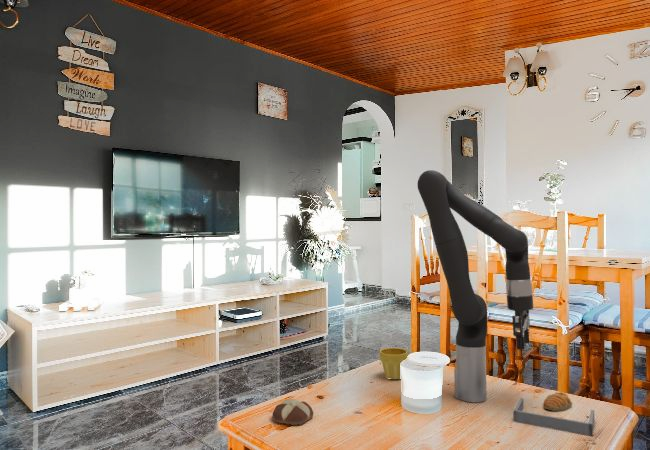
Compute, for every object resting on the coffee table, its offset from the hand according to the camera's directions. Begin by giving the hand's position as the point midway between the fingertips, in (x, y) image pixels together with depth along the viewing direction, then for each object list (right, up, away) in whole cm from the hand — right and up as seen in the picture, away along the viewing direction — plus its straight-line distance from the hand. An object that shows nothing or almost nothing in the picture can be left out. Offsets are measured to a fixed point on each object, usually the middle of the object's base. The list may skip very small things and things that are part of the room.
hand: (523, 346), depth 151 cm
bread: (-71, -20, -8) cm, 74 cm away
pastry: (+9, -18, -3) cm, 21 cm away
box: (+4, -18, -13) cm, 22 cm away
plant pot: (-36, -19, +28) cm, 49 cm away
